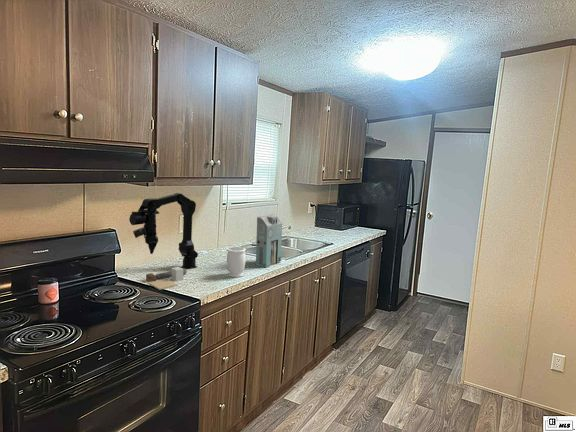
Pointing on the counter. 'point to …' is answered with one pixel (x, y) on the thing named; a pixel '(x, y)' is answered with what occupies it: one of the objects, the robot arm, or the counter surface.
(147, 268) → the counter surface
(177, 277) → the white rectangular block
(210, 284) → the counter surface
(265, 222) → the device
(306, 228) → the counter surface
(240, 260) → the jar
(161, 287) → the mat
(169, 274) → the grey rounded rod
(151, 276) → the block
